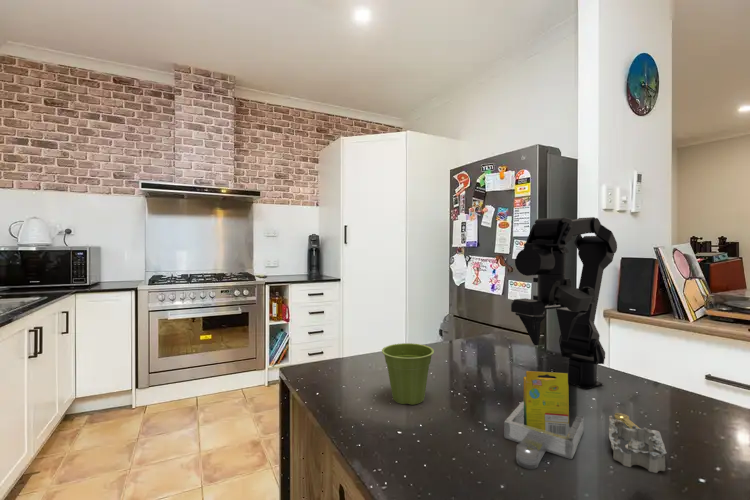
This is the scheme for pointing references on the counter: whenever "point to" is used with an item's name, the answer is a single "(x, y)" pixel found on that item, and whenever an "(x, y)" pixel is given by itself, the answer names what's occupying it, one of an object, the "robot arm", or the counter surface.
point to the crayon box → (547, 402)
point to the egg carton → (637, 446)
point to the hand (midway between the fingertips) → (550, 342)
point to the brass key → (625, 419)
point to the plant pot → (408, 371)
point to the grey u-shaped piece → (540, 439)
